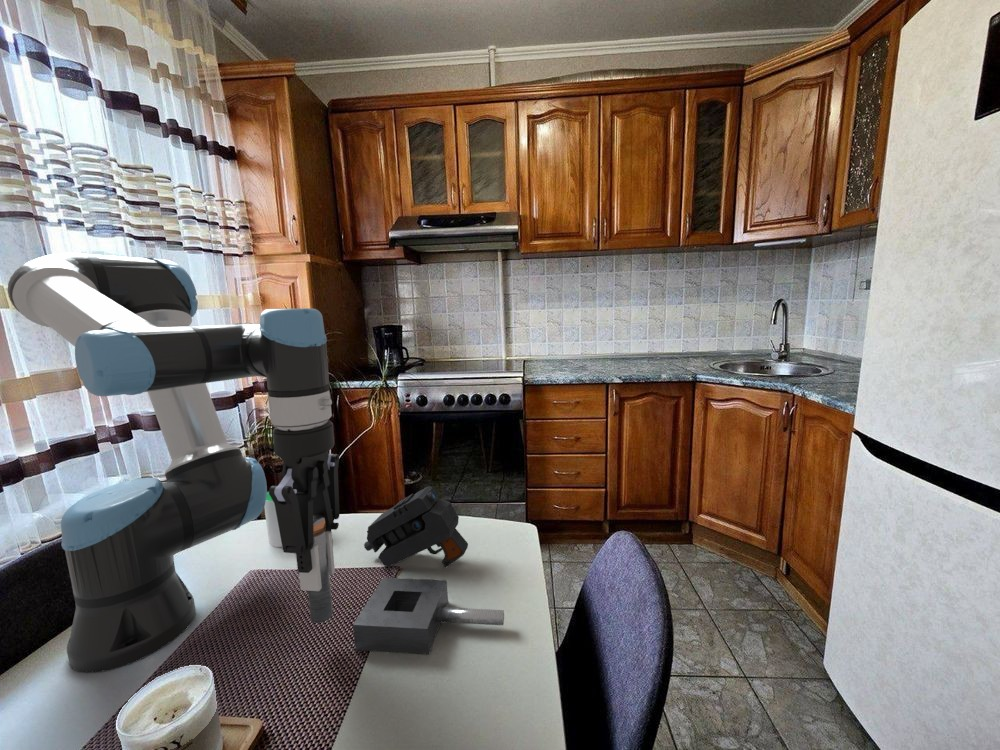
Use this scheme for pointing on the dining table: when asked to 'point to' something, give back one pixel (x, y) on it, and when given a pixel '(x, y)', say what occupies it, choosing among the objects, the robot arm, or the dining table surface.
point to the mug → (272, 523)
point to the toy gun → (417, 529)
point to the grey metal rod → (321, 599)
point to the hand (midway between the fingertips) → (318, 580)
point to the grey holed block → (411, 616)
